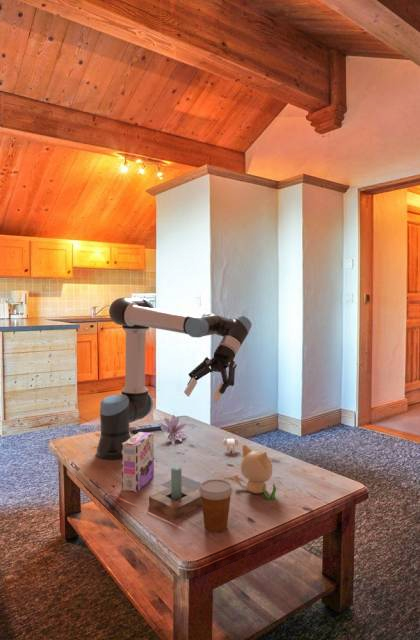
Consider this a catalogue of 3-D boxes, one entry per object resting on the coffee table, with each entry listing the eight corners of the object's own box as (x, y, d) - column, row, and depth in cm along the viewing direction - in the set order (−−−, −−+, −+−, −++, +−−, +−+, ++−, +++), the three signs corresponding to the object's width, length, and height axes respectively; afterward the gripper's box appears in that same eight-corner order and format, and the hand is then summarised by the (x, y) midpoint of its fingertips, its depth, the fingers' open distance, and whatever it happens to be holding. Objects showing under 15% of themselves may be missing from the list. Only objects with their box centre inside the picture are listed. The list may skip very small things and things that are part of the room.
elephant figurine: (238, 448, 188) (238, 435, 188) (239, 455, 180) (239, 441, 180) (222, 449, 188) (222, 435, 188) (223, 455, 180) (223, 441, 180)
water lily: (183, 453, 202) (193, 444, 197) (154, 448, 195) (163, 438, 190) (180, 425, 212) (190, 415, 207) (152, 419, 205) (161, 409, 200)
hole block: (149, 507, 136) (148, 496, 136) (176, 494, 145) (176, 484, 145) (176, 520, 129) (176, 508, 128) (203, 505, 138) (203, 494, 137)
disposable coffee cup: (198, 519, 129) (197, 479, 129) (230, 517, 130) (230, 477, 129) (200, 536, 120) (199, 493, 119) (234, 535, 121) (234, 492, 120)
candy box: (137, 493, 146) (136, 444, 145) (121, 491, 148) (120, 443, 147) (154, 477, 160) (154, 432, 159) (139, 475, 161) (139, 430, 160)
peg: (169, 506, 137) (168, 469, 136) (176, 503, 139) (176, 466, 139) (176, 510, 135) (176, 471, 134) (184, 506, 137) (183, 468, 136)
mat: (160, 485, 152) (160, 484, 152) (181, 476, 160) (181, 475, 160) (185, 496, 144) (185, 494, 144) (206, 486, 152) (206, 484, 152)
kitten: (284, 494, 145) (285, 450, 144) (264, 504, 138) (264, 457, 137) (251, 480, 156) (251, 439, 155) (231, 489, 149) (231, 445, 149)
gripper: (258, 359, 160) (232, 409, 149) (207, 354, 176) (180, 397, 166) (249, 346, 155) (222, 396, 145) (197, 342, 172) (170, 386, 161)
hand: (200, 397), depth 155 cm, fingers open, 13 cm apart
